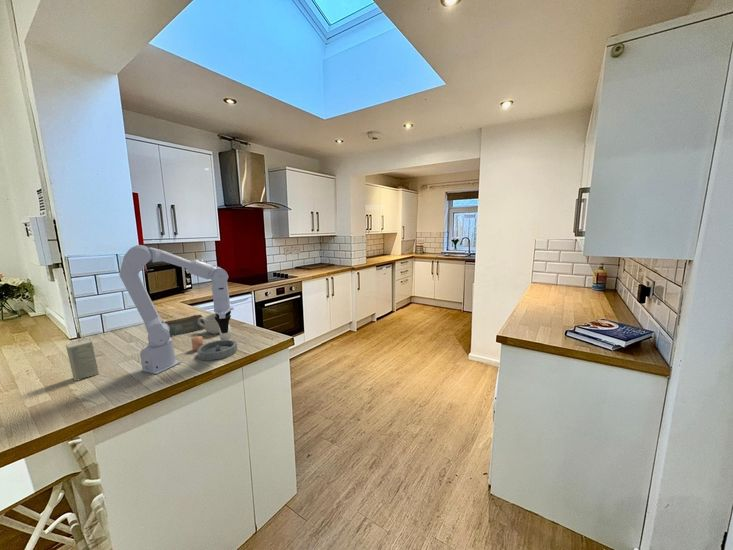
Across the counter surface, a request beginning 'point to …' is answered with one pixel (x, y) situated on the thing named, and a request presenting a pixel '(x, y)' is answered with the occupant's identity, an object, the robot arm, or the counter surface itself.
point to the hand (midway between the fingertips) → (224, 331)
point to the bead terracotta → (197, 342)
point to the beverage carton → (184, 325)
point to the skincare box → (82, 359)
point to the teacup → (210, 324)
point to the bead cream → (225, 334)
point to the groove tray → (219, 354)
